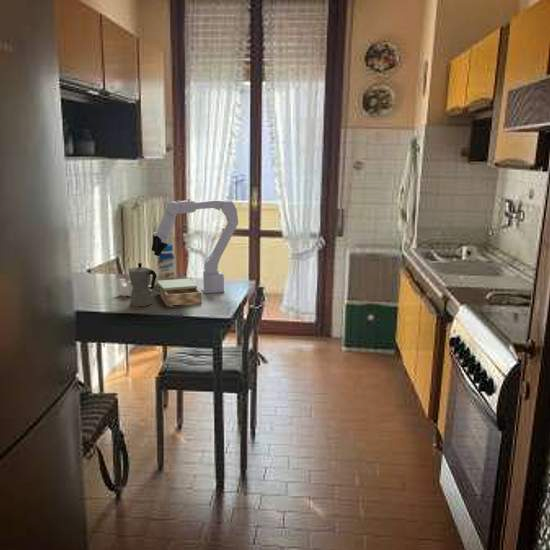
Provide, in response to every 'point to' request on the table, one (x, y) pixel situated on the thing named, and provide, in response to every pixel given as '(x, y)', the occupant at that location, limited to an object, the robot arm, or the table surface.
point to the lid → (175, 284)
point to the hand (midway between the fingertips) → (154, 253)
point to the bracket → (126, 287)
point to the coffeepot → (141, 285)
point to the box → (181, 296)
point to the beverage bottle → (166, 264)
